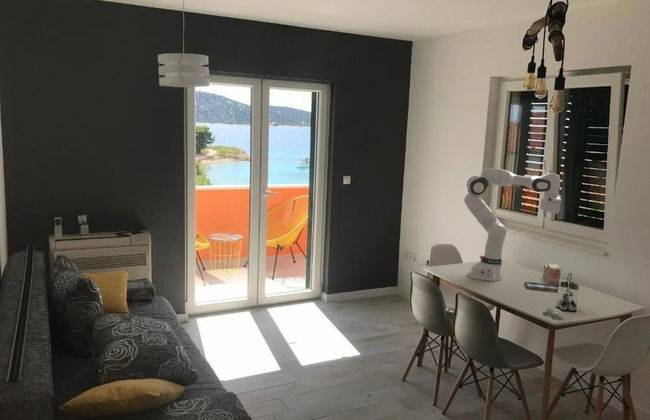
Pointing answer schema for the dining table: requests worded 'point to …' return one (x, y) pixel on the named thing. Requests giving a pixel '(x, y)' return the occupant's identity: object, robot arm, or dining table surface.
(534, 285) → the grey flat slab
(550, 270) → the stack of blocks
